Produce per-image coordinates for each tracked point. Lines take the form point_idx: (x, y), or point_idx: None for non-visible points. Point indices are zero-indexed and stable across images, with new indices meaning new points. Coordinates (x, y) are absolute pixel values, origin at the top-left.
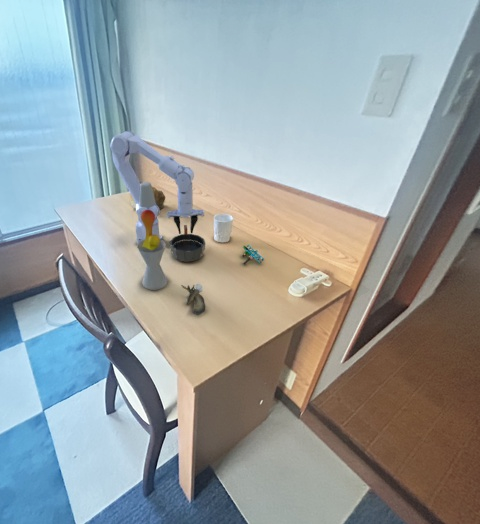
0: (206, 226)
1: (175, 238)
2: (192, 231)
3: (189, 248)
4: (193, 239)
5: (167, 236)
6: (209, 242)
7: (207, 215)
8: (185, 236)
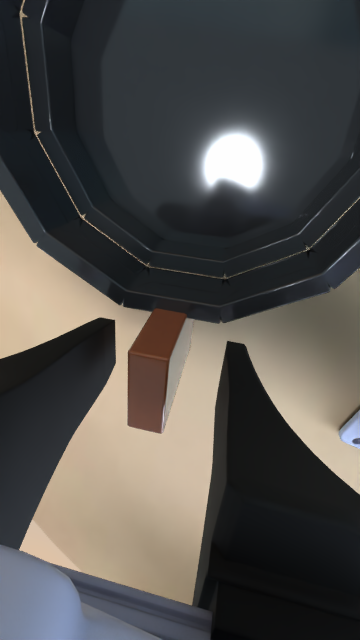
0: None
1: (320, 266)
2: (88, 322)
3: (179, 166)
4: (112, 248)
5: (296, 426)
6: (22, 272)
7: (34, 514)
8: (183, 289)
